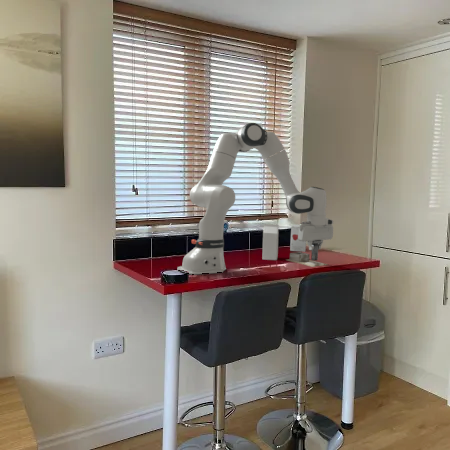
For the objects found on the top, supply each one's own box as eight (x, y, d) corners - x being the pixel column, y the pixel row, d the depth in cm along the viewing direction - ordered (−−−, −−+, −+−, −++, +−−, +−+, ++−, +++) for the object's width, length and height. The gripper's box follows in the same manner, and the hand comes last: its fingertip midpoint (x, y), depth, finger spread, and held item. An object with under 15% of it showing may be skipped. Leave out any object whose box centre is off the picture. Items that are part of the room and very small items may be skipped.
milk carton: (276, 263, 226) (277, 225, 224) (262, 262, 228) (263, 224, 226) (277, 260, 233) (278, 224, 231) (263, 259, 235) (265, 223, 233)
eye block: (311, 269, 212) (312, 259, 211) (285, 262, 228) (285, 252, 227) (328, 267, 218) (328, 257, 218) (301, 260, 234) (301, 251, 233)
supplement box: (289, 251, 263) (290, 225, 262) (290, 248, 272) (291, 224, 270) (305, 252, 262) (306, 226, 260) (305, 249, 270) (307, 224, 269)
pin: (314, 261, 214) (315, 241, 213) (306, 259, 219) (306, 240, 218) (322, 260, 217) (323, 240, 216) (314, 258, 222) (315, 239, 221)
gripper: (304, 222, 208) (303, 252, 209) (335, 220, 219) (334, 249, 220) (295, 221, 213) (294, 250, 214) (326, 219, 224) (324, 247, 226)
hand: (314, 249), depth 217 cm, fingers closed on pin, 3 cm apart
